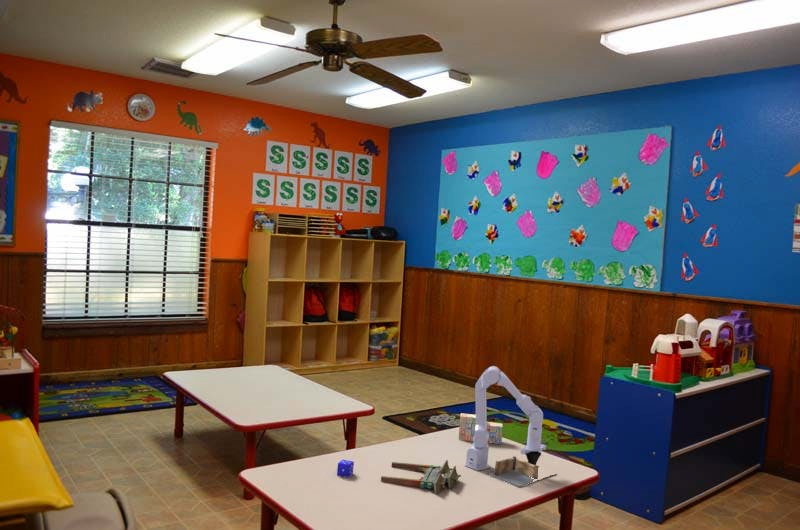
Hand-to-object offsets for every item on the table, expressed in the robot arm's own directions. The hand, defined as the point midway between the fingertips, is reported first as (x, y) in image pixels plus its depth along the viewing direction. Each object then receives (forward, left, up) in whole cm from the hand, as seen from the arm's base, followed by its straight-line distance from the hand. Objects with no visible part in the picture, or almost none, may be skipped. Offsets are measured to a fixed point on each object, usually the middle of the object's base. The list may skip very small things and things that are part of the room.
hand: (531, 468), depth 262 cm
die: (-69, +42, -3) cm, 81 cm away
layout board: (-3, +2, -3) cm, 5 cm away
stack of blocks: (+18, +43, -3) cm, 47 cm away
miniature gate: (-45, +22, -4) cm, 50 cm away
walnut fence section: (-9, +7, -2) cm, 12 cm away
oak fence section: (-4, 0, -2) cm, 4 cm away
